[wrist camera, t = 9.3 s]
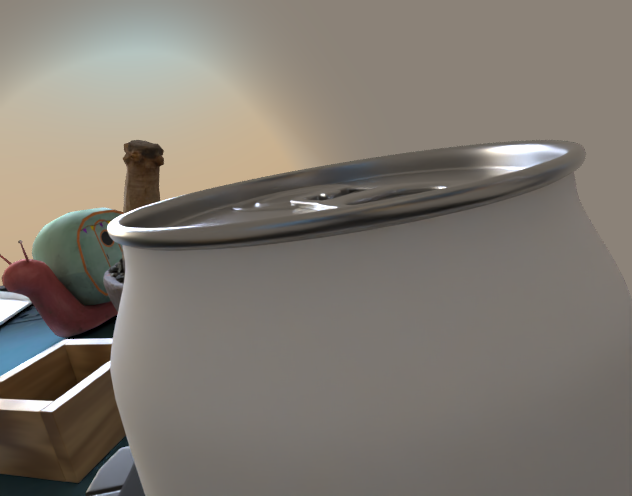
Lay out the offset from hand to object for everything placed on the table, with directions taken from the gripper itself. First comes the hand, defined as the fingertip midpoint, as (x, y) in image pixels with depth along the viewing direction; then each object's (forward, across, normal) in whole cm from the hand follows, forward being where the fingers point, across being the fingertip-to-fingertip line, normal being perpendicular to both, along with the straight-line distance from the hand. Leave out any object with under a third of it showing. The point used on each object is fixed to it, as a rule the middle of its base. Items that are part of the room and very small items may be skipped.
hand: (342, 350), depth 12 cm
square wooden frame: (+16, -19, -11) cm, 27 cm away
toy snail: (+43, -27, -11) cm, 51 cm away
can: (-5, 0, -7) cm, 8 cm away
